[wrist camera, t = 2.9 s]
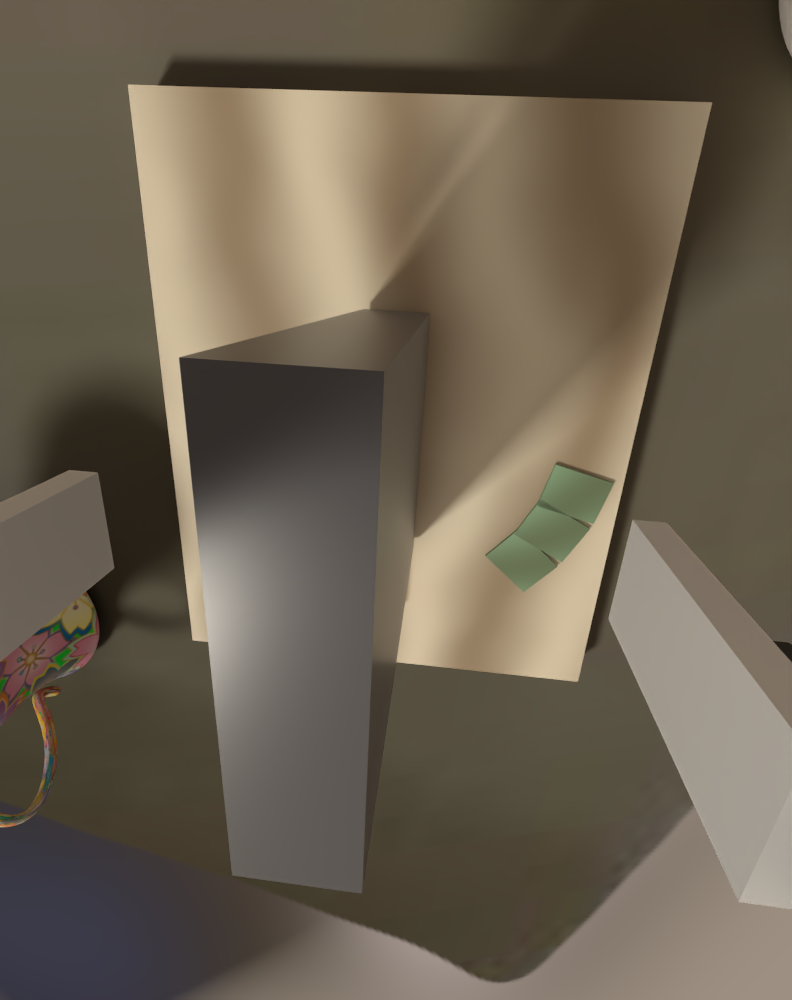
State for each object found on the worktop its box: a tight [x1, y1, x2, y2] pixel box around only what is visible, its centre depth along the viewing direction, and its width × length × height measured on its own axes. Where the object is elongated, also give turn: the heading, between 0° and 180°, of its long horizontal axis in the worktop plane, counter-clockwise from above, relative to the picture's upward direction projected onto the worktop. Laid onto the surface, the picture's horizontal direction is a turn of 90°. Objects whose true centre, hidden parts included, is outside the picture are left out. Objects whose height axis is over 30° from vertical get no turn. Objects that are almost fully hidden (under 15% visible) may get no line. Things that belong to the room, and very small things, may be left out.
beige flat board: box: [128, 85, 712, 682], centre depth 23 cm, size 20×24×2 cm
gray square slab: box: [179, 309, 430, 893], centre depth 16 cm, size 3×14×15 cm, turn 177°
